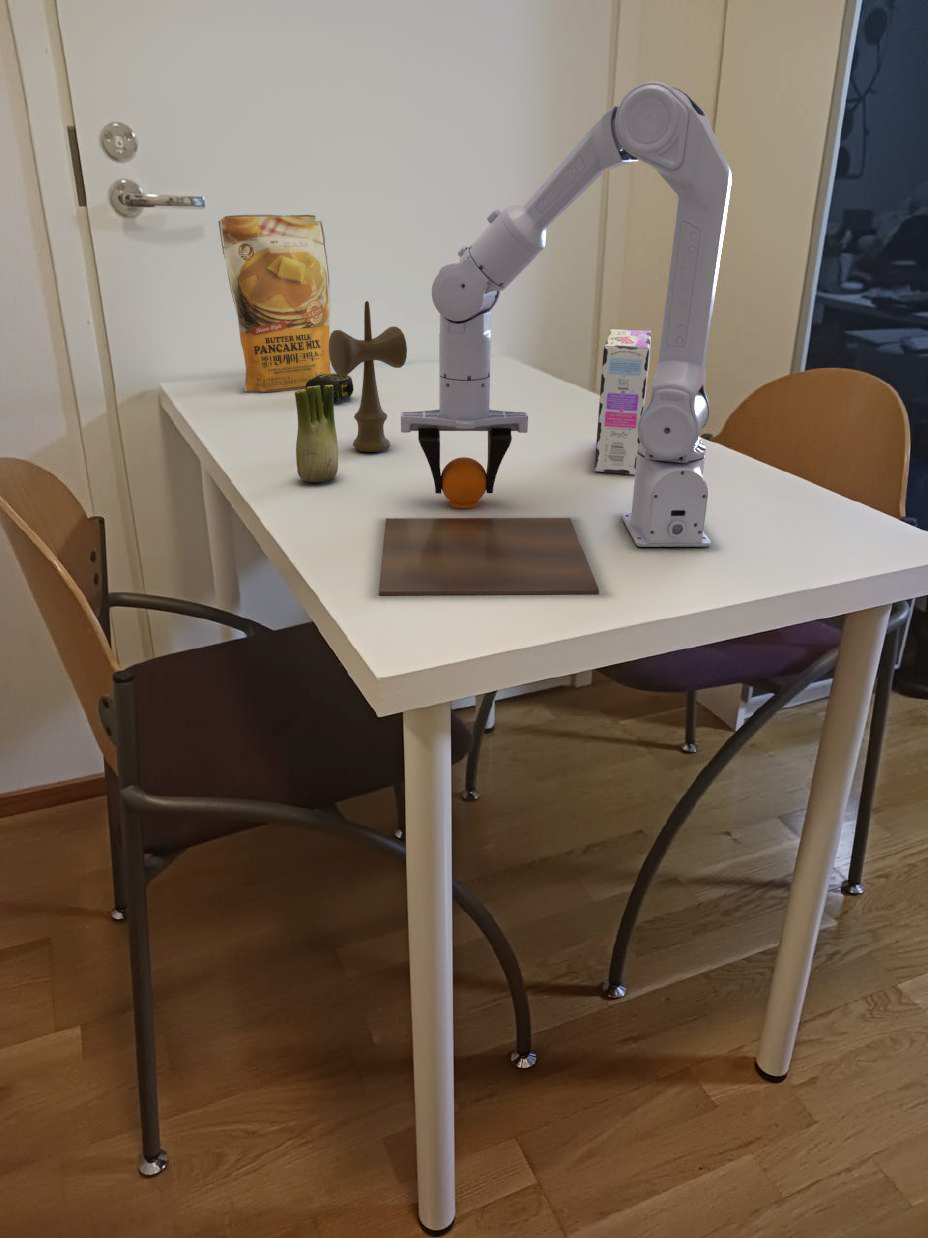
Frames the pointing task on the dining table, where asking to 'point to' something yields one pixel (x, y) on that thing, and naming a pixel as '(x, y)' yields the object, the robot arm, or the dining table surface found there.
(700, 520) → the robot arm
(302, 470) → the fennel bulb
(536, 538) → the front mat
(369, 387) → the kendama
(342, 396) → the tape measure
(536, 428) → the dining table surface
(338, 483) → the dining table surface
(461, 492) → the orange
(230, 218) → the pancake mix bag
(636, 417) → the candy box
